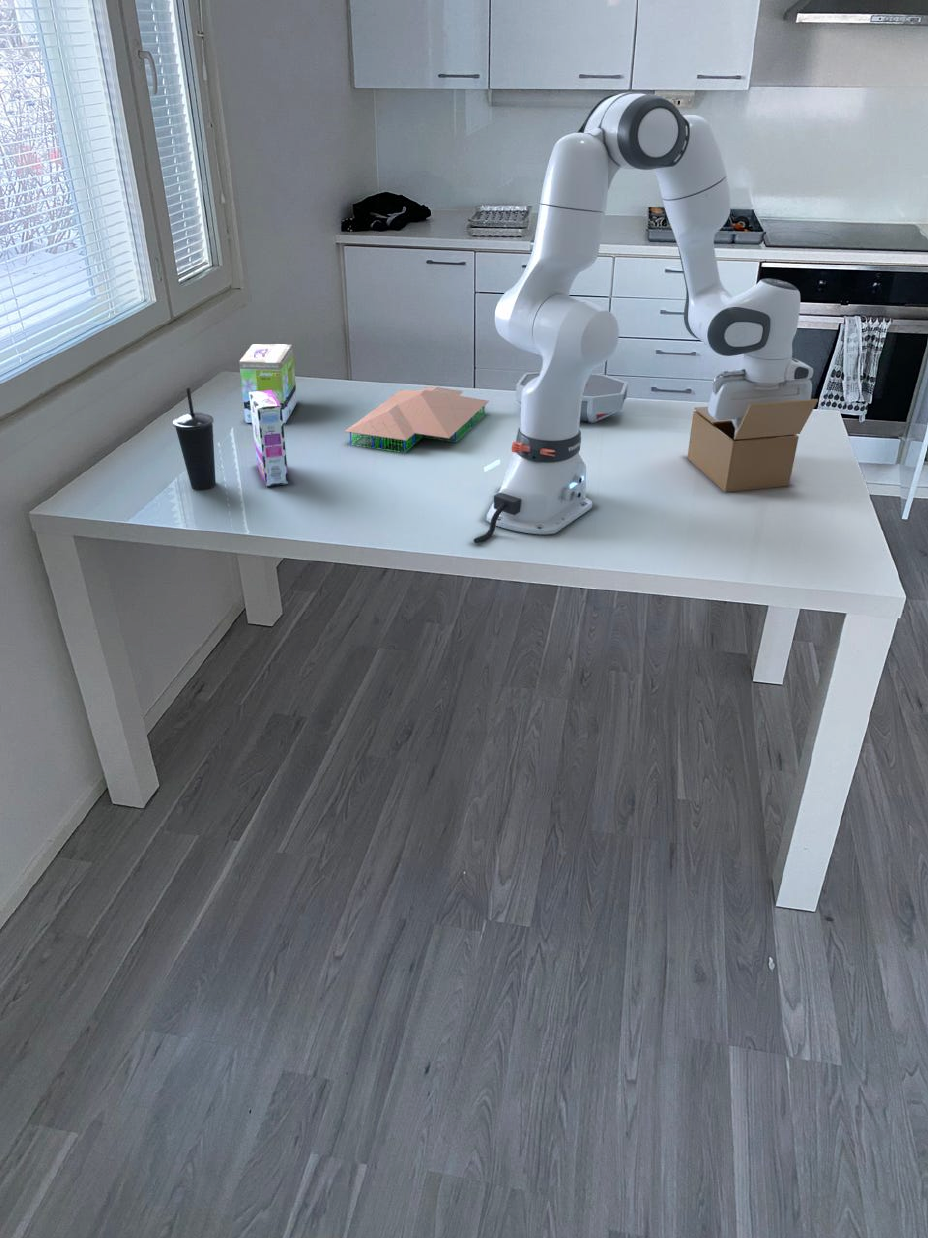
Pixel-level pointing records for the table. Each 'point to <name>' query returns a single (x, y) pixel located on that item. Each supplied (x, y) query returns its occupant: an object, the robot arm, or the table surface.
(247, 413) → the tea box
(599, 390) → the first aid kit
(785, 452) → the carton
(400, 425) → the house
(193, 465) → the drinking cup
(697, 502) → the table surface
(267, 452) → the candy bar box
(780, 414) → the flap
